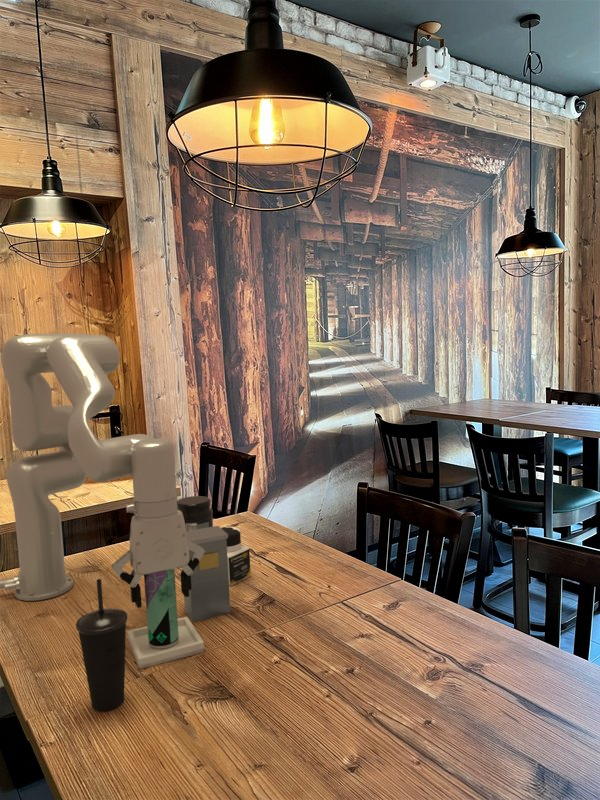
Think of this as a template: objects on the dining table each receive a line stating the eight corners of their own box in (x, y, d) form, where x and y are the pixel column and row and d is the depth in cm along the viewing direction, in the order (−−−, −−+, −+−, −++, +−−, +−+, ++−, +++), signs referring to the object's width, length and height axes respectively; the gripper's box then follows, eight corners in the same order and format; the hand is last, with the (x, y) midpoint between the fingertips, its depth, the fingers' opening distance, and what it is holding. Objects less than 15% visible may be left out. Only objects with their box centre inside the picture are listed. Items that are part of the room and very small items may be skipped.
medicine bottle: (230, 586, 136) (227, 535, 134) (208, 580, 140) (205, 530, 139) (251, 576, 141) (249, 527, 140) (229, 570, 146) (227, 522, 144)
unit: (191, 623, 119) (186, 541, 117) (183, 610, 124) (178, 532, 123) (232, 613, 122) (228, 534, 121) (222, 601, 128) (218, 525, 126)
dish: (139, 669, 102) (138, 659, 102) (127, 639, 113) (127, 630, 113) (204, 651, 107) (203, 642, 107) (187, 625, 118) (187, 616, 118)
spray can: (158, 633, 114) (151, 532, 111) (184, 636, 112) (177, 534, 110) (143, 648, 108) (135, 542, 106) (169, 651, 107) (162, 544, 105)
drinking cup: (115, 682, 99) (106, 566, 97) (143, 698, 94) (134, 577, 92) (72, 705, 93) (62, 582, 91) (100, 724, 88) (89, 594, 86)
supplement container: (202, 533, 175) (200, 493, 174) (221, 541, 167) (218, 500, 166) (170, 541, 169) (167, 500, 167) (187, 551, 160) (184, 507, 159)
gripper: (109, 520, 100) (116, 619, 102) (208, 504, 108) (213, 596, 110) (103, 509, 107) (110, 602, 109) (197, 495, 115) (202, 582, 116)
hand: (162, 599), depth 109 cm, fingers open, 8 cm apart
